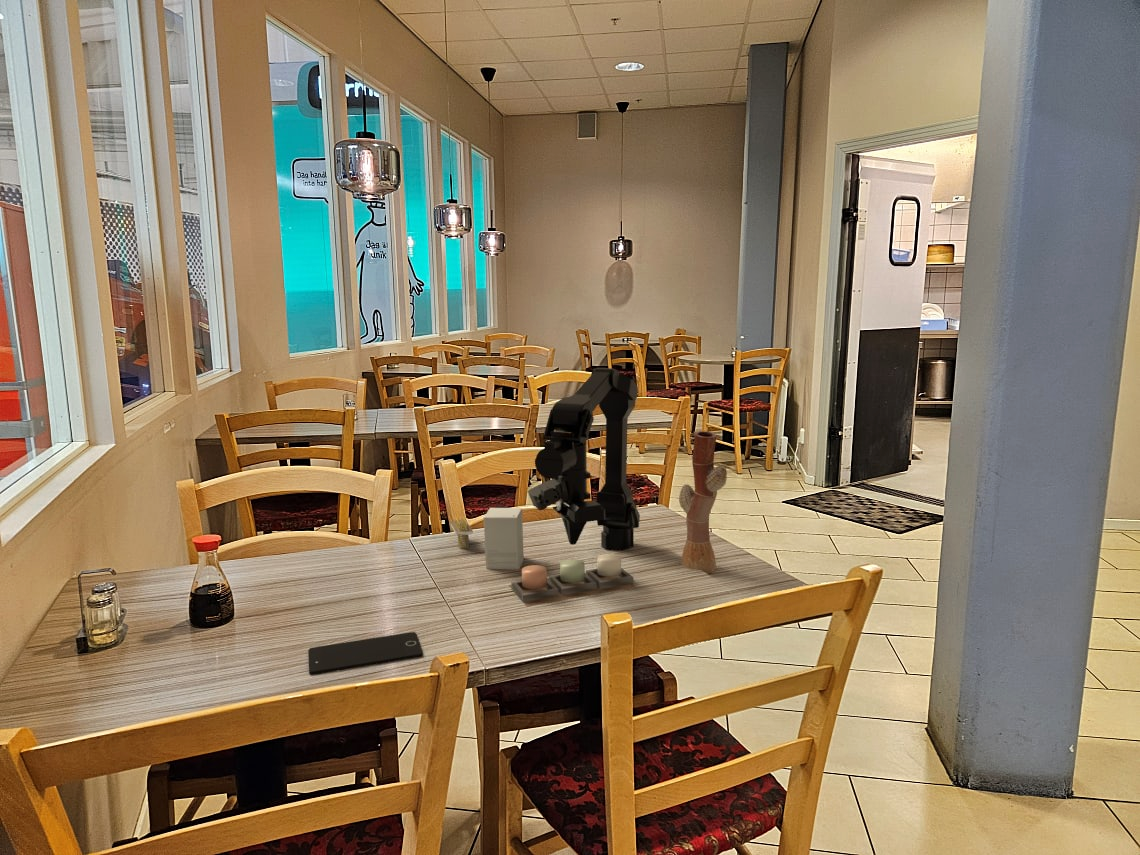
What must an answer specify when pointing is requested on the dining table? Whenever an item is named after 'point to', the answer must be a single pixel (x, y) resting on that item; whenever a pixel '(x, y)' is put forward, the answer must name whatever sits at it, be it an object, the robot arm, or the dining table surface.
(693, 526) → the vase
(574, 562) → the sage green rounded piece
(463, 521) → the toothpick holder
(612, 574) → the cream button
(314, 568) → the dining table surface
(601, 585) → the brown compartment tray
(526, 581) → the terracotta button
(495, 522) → the supplement box
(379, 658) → the cell phone
